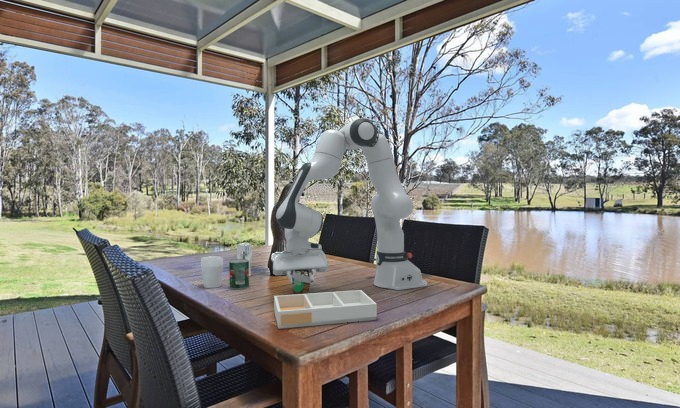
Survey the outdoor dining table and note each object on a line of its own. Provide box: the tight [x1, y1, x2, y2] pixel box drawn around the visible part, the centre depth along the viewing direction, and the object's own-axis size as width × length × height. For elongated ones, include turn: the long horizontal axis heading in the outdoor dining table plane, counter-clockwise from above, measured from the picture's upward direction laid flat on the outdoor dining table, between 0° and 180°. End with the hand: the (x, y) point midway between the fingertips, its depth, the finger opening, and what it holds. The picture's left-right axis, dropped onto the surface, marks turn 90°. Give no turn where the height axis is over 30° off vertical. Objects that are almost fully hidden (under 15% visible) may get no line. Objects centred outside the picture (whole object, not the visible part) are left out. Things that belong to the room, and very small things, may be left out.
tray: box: [273, 289, 378, 330], centre depth 121 cm, size 30×17×5 cm, turn 104°
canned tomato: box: [228, 259, 250, 290], centre depth 156 cm, size 8×8×11 cm
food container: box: [291, 269, 312, 295], centre depth 136 cm, size 12×6×10 cm, turn 10°
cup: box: [200, 255, 224, 289], centre depth 157 cm, size 9×9×12 cm
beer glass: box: [236, 242, 253, 278], centre depth 176 cm, size 7×7×15 cm
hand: (302, 282), depth 135 cm, fingers closed on food container, 5 cm apart
